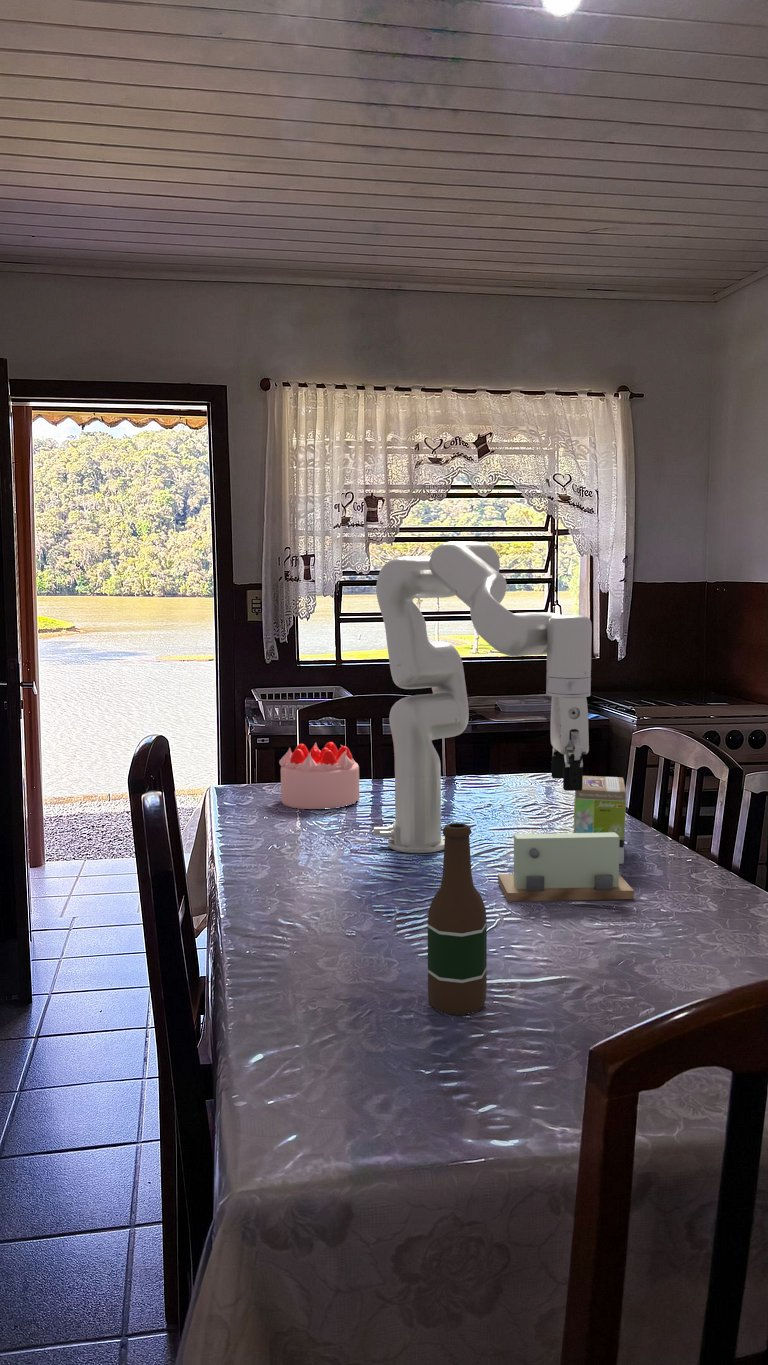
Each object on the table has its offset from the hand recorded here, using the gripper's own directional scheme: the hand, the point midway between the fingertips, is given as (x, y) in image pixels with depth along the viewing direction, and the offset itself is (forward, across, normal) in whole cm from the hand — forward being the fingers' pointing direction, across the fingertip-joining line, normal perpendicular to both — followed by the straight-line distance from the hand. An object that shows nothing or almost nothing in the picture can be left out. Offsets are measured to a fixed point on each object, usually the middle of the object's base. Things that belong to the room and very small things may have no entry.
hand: (566, 784), depth 172 cm
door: (+18, 0, 0) cm, 18 cm away
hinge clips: (+18, 0, 0) cm, 18 cm away
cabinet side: (+20, +2, 0) cm, 20 cm away
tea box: (+20, +25, -12) cm, 34 cm away
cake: (+21, +76, +46) cm, 91 cm away
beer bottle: (+20, -44, +24) cm, 54 cm away
